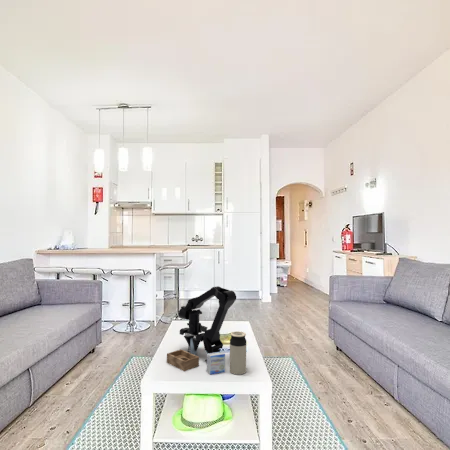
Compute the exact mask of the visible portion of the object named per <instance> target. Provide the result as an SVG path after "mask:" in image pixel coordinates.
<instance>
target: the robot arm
mask: <svg viewBox="0 0 450 450" xmlns="http://www.w3.org/2000/svg"><path fill="white" fill-rule="evenodd" d="M214 297H215V298H216V300H218V308H217V310H216V314H215V316H214V319H213V321H212V323H211V326H210V328H209V329H208V326H204V325H202V323H201V322H200V315H202V314H203V312H202V311H201V309H200V308H202V306H204V304H205V303H206V302H207V301H210V300H211V299H212V298H214ZM236 300H237V294H236V292H235V291H234V290H229V289H227V288H223V287H221V286H219V285H218V286H212V287H211V288H210V289H208V290H207V291H206V292H204V293H202V294H200V295H199V296H196V297H192V298H189V299H188V300H187V303H186V305H185V306H184V305H182V306H181V307H180V309H179V310H178V313H177V316H178V317H179V319H182V320H186V321H188V323H186V324H187V327H184V328H181V329H180V330H179V335H182V336H183V335H184V336H183V338H185V340H186V343H187V345H188V347H189V348H190V339H191V338H195V339H193V345H194V350H195V351H198V349H199V345H200V343H201V342H203V347H204V351H206V354H207V353H215V352H221V350H220V349H223V347H224V344H223V342H222V340H221V339H220V338H221V333H220V331H221V328H222V326H223V323H224V321H225V318H226V316H227V314H228V311H229V309H230V308H231V307H232V306H233V304H234V303H235V302H236ZM204 361H205V362H206V363H207V358H206V359H205V360H204Z"/></svg>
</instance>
